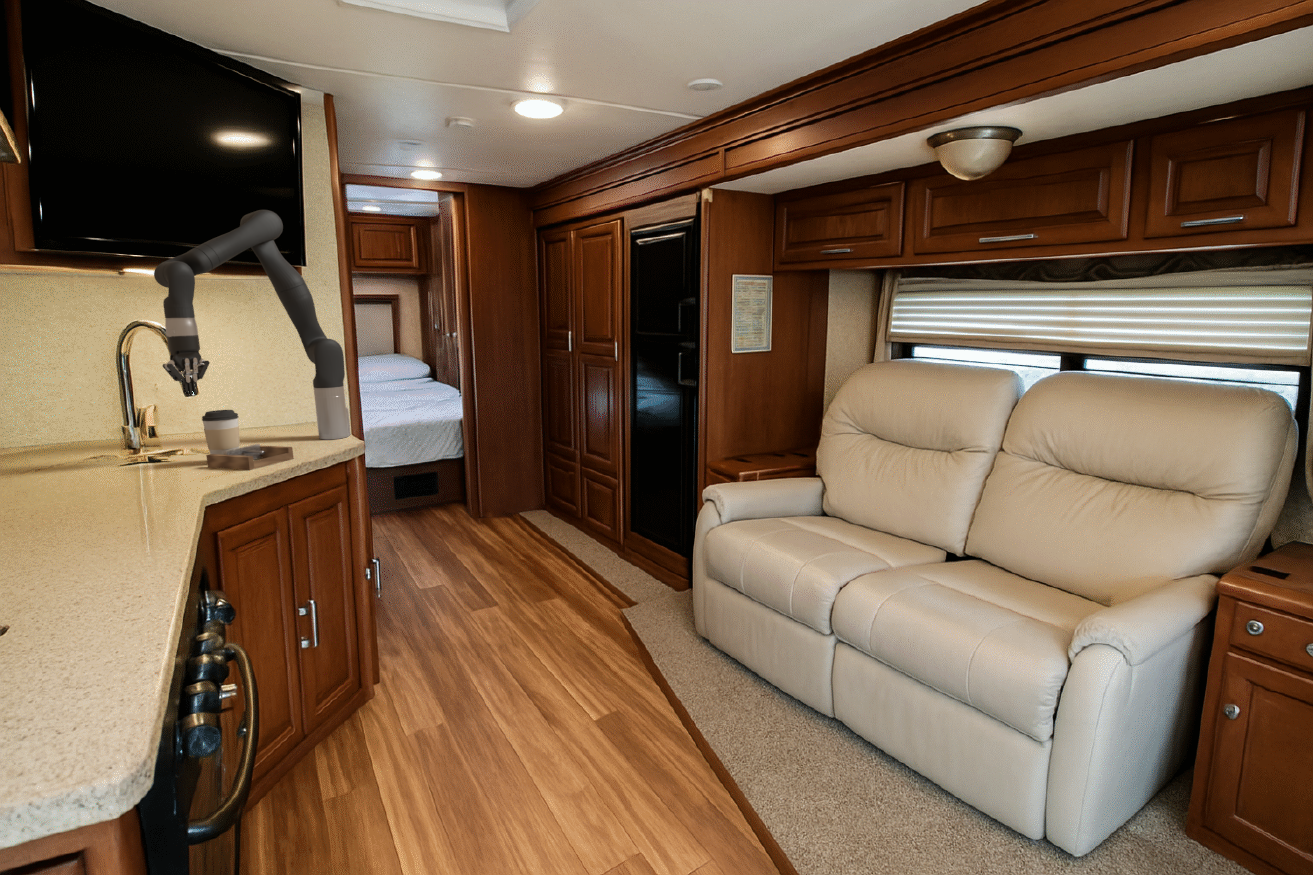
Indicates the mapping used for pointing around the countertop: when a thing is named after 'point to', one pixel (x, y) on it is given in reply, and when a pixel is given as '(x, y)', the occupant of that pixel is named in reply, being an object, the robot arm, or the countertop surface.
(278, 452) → the wooden tray
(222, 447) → the coffee cup
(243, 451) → the pusher
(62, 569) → the countertop surface
